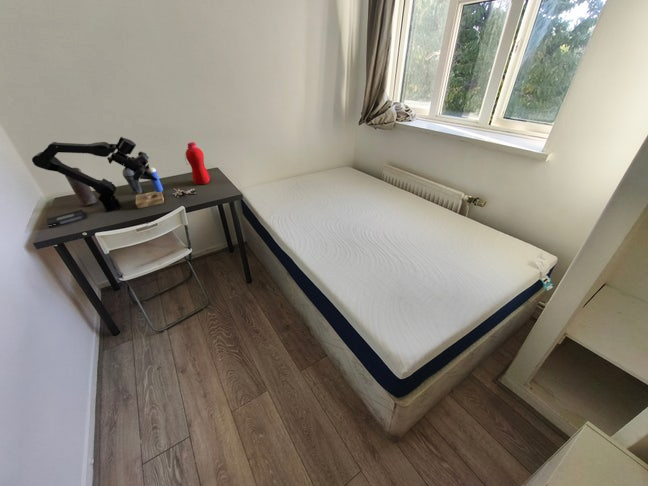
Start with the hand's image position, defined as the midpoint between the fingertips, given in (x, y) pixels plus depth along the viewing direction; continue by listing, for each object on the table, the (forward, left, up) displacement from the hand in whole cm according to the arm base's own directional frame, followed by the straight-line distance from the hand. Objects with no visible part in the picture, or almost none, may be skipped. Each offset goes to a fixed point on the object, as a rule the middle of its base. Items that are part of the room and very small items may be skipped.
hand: (157, 178), depth 150 cm
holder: (-8, +2, -13) cm, 15 cm away
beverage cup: (-14, +19, -13) cm, 27 cm away
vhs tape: (-46, 0, -13) cm, 48 cm away
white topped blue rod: (-1, 0, -7) cm, 7 cm away
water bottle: (+22, +15, -13) cm, 30 cm away
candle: (-38, +16, -13) cm, 44 cm away
